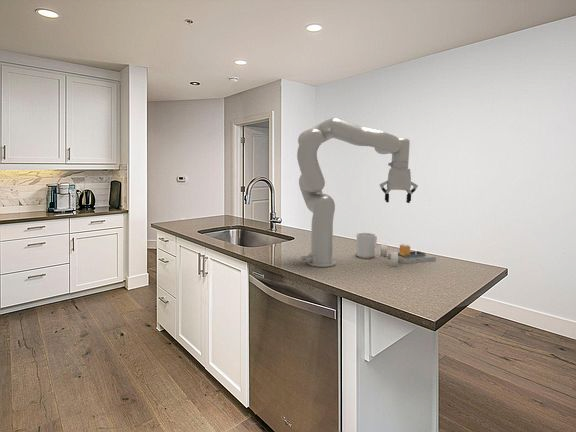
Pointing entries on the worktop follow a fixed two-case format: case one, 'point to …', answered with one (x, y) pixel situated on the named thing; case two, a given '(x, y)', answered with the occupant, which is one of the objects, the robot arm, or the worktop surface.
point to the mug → (366, 245)
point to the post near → (394, 259)
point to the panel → (414, 257)
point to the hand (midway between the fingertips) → (397, 202)
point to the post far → (384, 250)
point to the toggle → (404, 249)
